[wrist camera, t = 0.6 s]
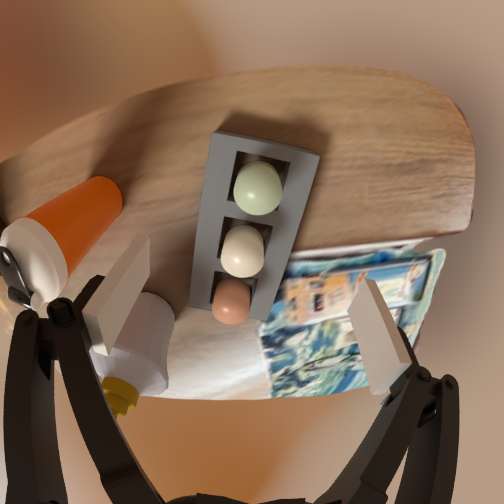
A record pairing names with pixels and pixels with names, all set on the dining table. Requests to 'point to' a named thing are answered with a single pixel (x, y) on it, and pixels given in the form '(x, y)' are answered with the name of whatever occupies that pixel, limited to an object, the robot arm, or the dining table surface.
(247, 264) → the cream egg
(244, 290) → the brown egg
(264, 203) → the pale green rounded knob
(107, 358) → the soap bottle
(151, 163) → the dining table surface
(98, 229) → the shaker bottle
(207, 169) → the panel
